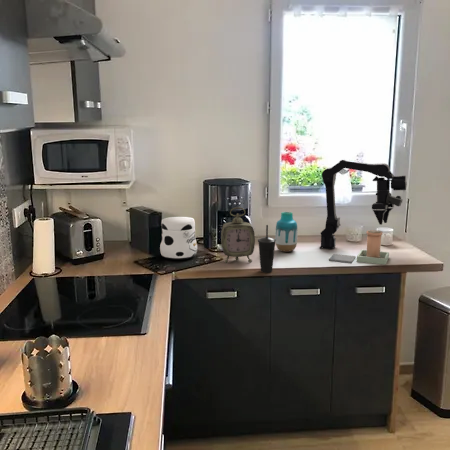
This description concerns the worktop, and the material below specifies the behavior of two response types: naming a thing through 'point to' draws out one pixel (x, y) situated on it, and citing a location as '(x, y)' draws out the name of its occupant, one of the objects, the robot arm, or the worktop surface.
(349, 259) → the slate tile
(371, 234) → the terracotta pot
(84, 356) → the worktop surface
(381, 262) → the green tray
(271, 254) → the drinking cup
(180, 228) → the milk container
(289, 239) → the vase
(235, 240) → the tabletop clock
